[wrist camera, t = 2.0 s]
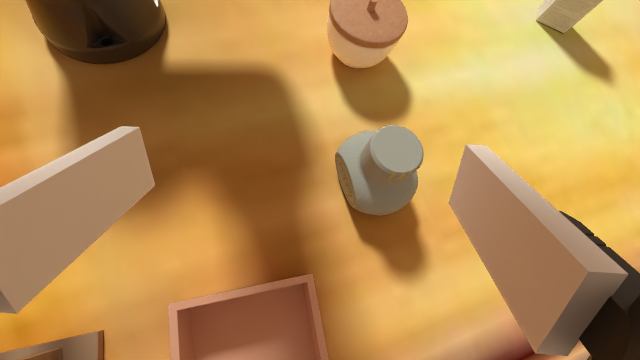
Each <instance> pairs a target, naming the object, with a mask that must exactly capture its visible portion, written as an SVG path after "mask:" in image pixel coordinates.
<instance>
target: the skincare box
mask: <svg viewBox="0 0 640 360" xmlns="http://www.w3.org/2000/svg"><path fill="white" fill-rule="evenodd" d="M601 1H603V0H545V1H544V2H543V3H542V4H541V5H540V7H539V9H538V14H537V19H536V21H538V22H541V23H543V24H545V25H547V26H549V27H551V28H553V29H556V30H558V31H560V32H562V33H565V32H567V31H568V30H569V29H570V28H571V27H572V26H574V25H575V24H576V23H577V22H578V21H579V20H581V19H582V18H583V17H584V16H585V15H586V14H587V13H589V12H590V11H591V10H592V9H593V8H594V7H596V6H597V5H598V4H599V3H600V2H601Z"/></svg>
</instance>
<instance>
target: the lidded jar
mask: <svg viewBox="0 0 640 360" xmlns="http://www.w3.org/2000/svg"><path fill="white" fill-rule="evenodd" d="M407 23H408V16H407V11H406V9H405V7H404V5H403V3H402V2H401V0H331V1H330V7H329V15H328V22H327V35H328V41H329V44H330V47H331V49H332V51H333V53H334V54H335V55H336V56H337V58H338V59H339V60H340V61H341V62H342V63H343V64H345V65H346V66H348V67H351V68H367V67H371V66H374V65H376V64H378V63H380V62H381V61H383V60H384V59H385V58H386V57H387V56H388V55H389V54H390V53H391V51H392V50H393V49H394V47H395V46H396V44H397V43H398V41H399V39H400V38H401V37H402V35H403V34H404V32H405V30H406V27H407Z"/></svg>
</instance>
